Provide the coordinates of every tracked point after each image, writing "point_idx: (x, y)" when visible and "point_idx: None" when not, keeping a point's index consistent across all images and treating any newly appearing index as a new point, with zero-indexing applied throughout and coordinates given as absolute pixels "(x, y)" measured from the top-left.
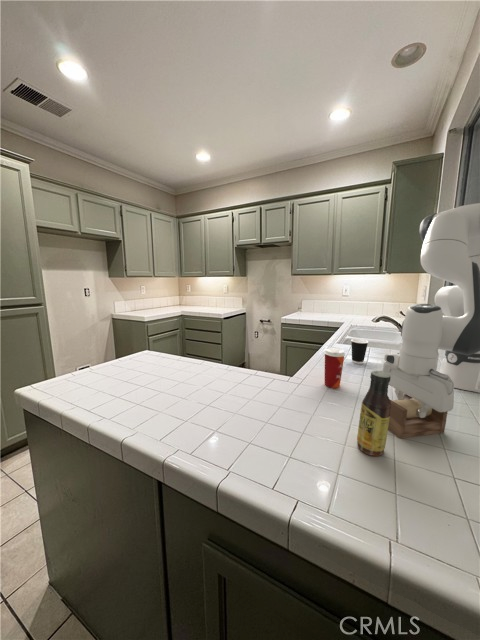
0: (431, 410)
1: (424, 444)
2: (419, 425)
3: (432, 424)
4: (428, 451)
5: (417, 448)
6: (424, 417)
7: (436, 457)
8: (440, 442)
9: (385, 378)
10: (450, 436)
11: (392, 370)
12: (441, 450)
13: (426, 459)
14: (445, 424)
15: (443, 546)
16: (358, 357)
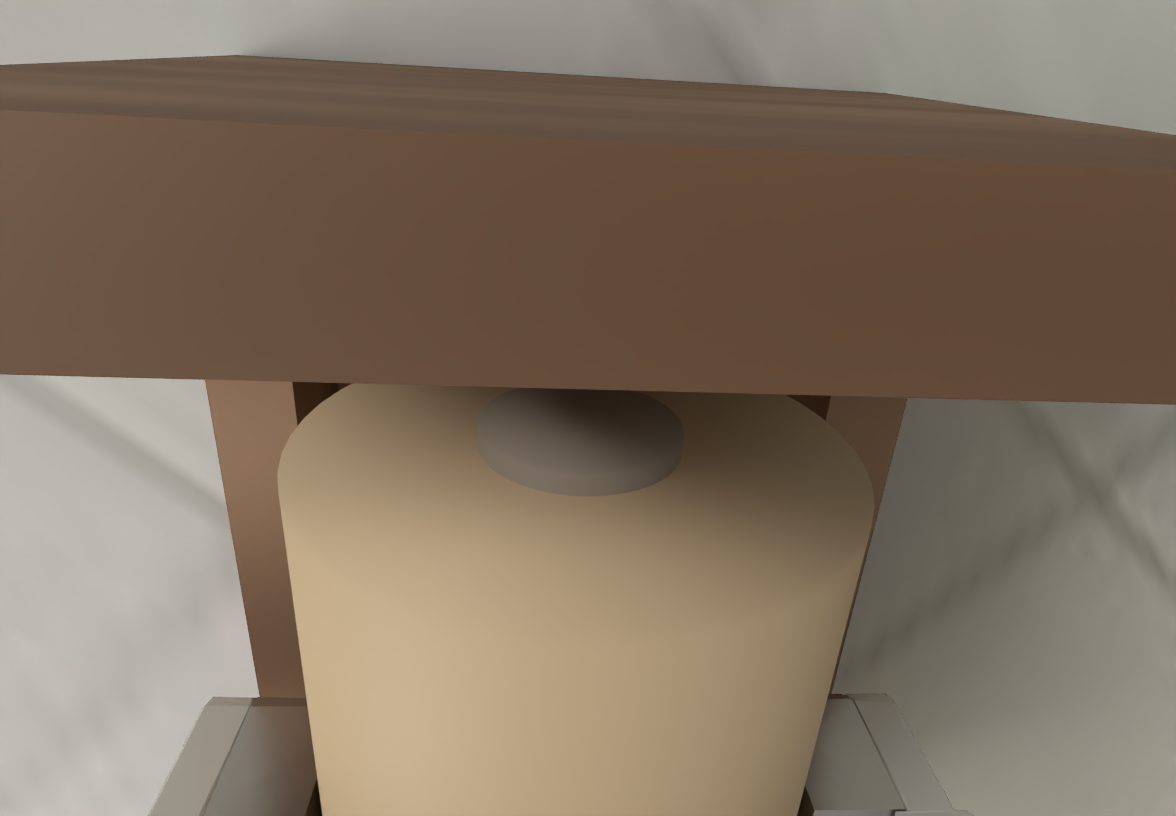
0: (853, 470)
1: (929, 633)
2: (831, 688)
3: (889, 444)
4: (1023, 686)
5: (937, 743)
6: (876, 696)
7: (1118, 688)
8: (1003, 417)
9: None
10: (999, 95)
11: None
12: (1093, 549)
13: (1078, 783)
14: (972, 106)
15: None
16: None
